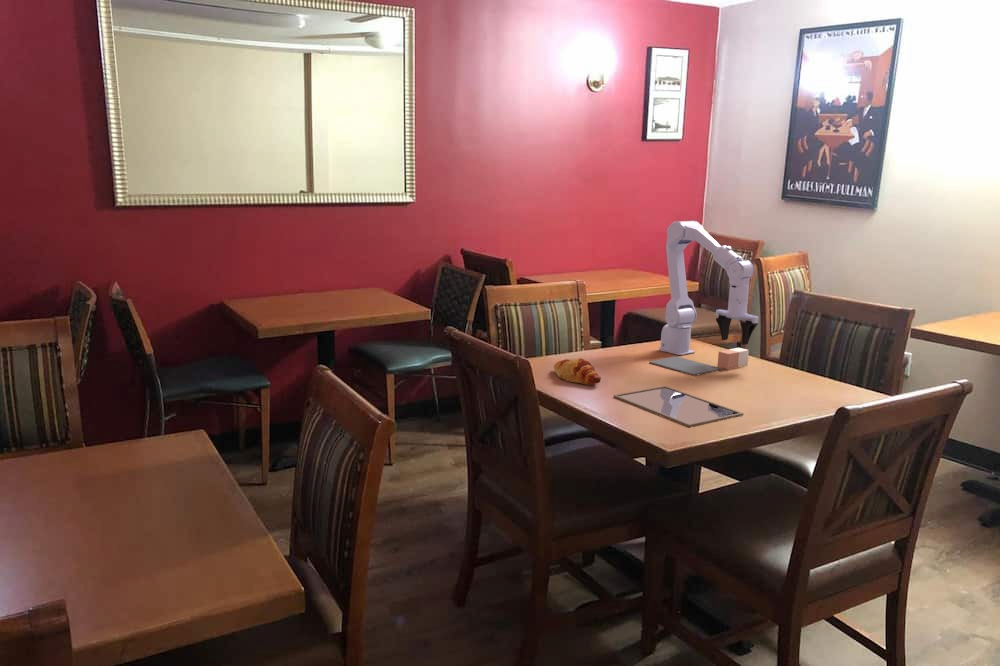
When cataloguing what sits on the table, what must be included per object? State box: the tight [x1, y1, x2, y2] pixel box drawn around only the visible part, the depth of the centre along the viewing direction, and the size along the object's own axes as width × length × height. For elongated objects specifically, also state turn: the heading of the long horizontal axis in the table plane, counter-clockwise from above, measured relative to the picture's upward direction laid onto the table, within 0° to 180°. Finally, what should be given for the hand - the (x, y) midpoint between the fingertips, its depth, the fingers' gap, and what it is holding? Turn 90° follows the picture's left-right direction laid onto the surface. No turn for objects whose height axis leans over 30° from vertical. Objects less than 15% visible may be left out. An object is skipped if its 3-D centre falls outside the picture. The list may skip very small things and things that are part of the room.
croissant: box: [553, 357, 602, 386], centre depth 228 cm, size 21×10×8 cm, turn 33°
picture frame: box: [613, 385, 744, 428], centre depth 204 cm, size 19×1×28 cm
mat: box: [648, 355, 722, 376], centre depth 245 cm, size 18×13×1 cm
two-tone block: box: [716, 347, 750, 370], centre depth 246 cm, size 4×10×5 cm, turn 127°
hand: (734, 341), depth 245 cm, fingers open, 7 cm apart
